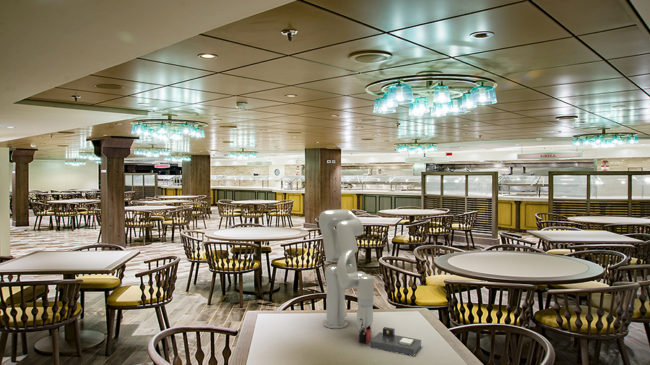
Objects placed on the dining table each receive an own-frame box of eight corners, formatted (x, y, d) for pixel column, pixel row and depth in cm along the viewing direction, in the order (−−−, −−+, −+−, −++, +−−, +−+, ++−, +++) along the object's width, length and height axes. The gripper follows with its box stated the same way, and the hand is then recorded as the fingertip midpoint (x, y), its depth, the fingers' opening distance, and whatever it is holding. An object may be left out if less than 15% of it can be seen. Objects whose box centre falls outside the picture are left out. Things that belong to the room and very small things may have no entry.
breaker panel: (379, 338, 203) (379, 325, 203) (421, 346, 194) (421, 333, 194) (370, 347, 193) (370, 334, 193) (413, 356, 183) (413, 342, 183)
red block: (362, 338, 203) (362, 328, 203) (371, 340, 201) (371, 329, 201) (359, 341, 199) (359, 331, 199) (367, 343, 197) (367, 332, 197)
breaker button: (402, 344, 194) (402, 337, 194) (413, 346, 192) (413, 339, 192) (399, 348, 190) (399, 341, 190) (410, 350, 188) (410, 343, 188)
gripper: (365, 296, 209) (364, 332, 210) (350, 305, 194) (350, 344, 194) (379, 298, 206) (379, 335, 206) (366, 307, 191) (365, 348, 191)
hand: (365, 339), depth 200 cm, fingers open, 5 cm apart
